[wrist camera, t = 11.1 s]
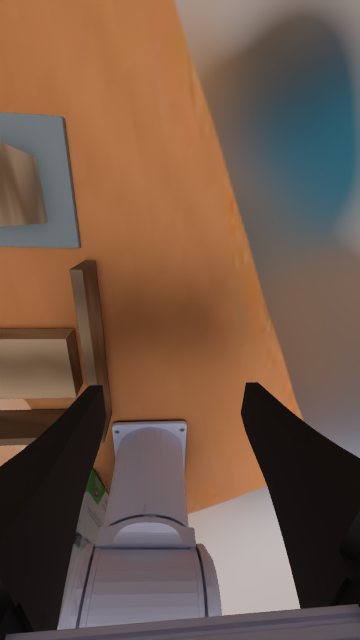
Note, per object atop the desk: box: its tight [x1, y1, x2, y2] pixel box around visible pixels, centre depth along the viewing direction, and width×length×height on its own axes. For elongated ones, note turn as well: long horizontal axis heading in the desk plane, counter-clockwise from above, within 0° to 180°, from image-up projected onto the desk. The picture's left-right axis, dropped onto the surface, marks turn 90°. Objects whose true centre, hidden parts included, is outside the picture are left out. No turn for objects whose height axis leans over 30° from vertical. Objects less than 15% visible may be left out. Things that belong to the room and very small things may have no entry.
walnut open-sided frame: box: [0, 260, 112, 446], centre depth 20 cm, size 16×14×4 cm
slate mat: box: [0, 113, 81, 248], centre depth 17 cm, size 8×8×1 cm
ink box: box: [57, 469, 109, 630], centre depth 25 cm, size 9×5×12 cm, turn 12°
